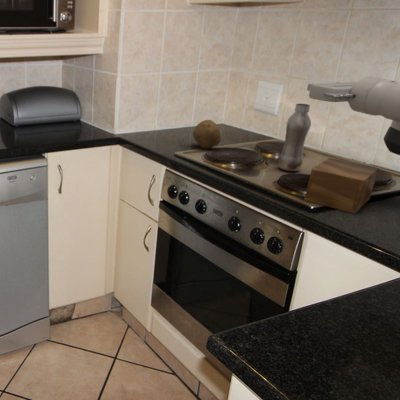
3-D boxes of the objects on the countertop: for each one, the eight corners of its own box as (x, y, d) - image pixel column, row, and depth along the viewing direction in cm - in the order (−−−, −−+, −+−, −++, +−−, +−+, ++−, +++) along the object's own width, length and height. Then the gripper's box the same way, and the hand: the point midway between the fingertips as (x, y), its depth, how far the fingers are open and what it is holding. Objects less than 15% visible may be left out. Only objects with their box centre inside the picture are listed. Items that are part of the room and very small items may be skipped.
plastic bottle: (304, 170, 145) (320, 105, 138) (292, 175, 142) (308, 108, 134) (284, 165, 150) (298, 101, 142) (272, 169, 147) (286, 104, 139)
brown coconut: (187, 144, 171) (190, 117, 167) (210, 144, 171) (215, 116, 168) (197, 152, 162) (201, 123, 158) (222, 151, 163) (227, 122, 159)
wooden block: (321, 187, 132) (329, 157, 129) (369, 199, 125) (378, 168, 122) (303, 200, 124) (311, 168, 120) (354, 213, 116) (364, 180, 113)
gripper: (333, 110, 118) (290, 99, 130) (394, 105, 124) (347, 95, 136) (339, 84, 116) (295, 75, 128) (401, 81, 122) (353, 73, 134)
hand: (322, 86), depth 132 cm, fingers open, 8 cm apart
